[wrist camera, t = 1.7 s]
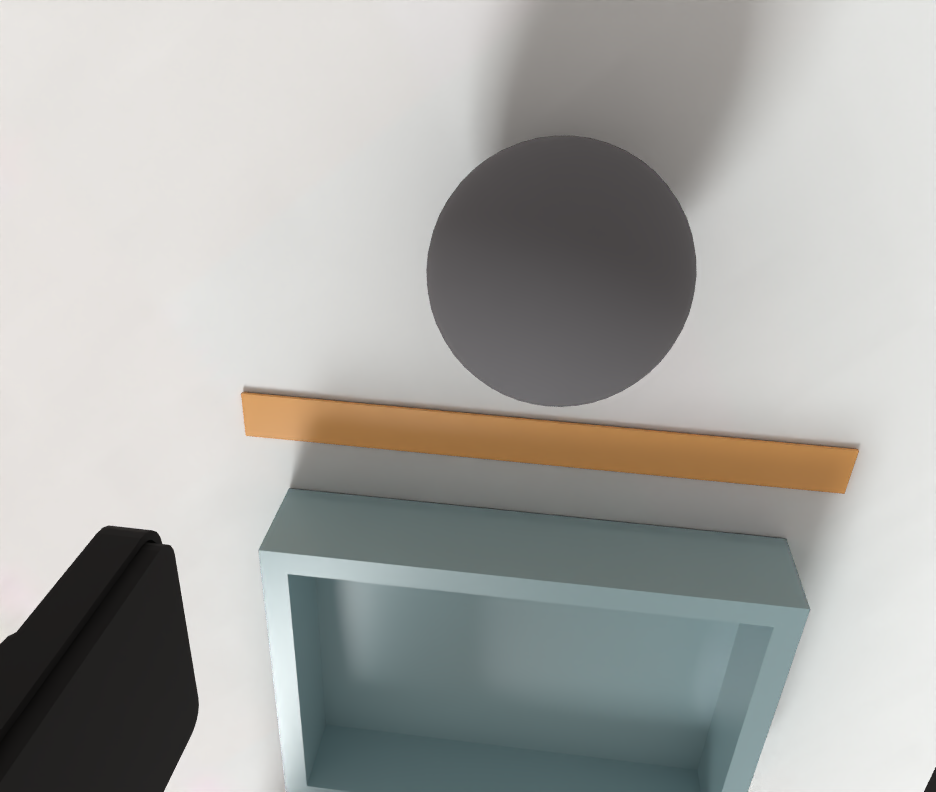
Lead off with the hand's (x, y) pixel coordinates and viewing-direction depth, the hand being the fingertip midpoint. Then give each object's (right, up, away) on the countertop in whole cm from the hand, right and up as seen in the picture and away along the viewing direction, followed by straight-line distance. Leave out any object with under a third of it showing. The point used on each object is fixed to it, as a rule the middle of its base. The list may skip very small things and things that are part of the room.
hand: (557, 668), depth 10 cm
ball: (+1, +7, +12) cm, 14 cm away
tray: (+1, -4, +18) cm, 19 cm away
